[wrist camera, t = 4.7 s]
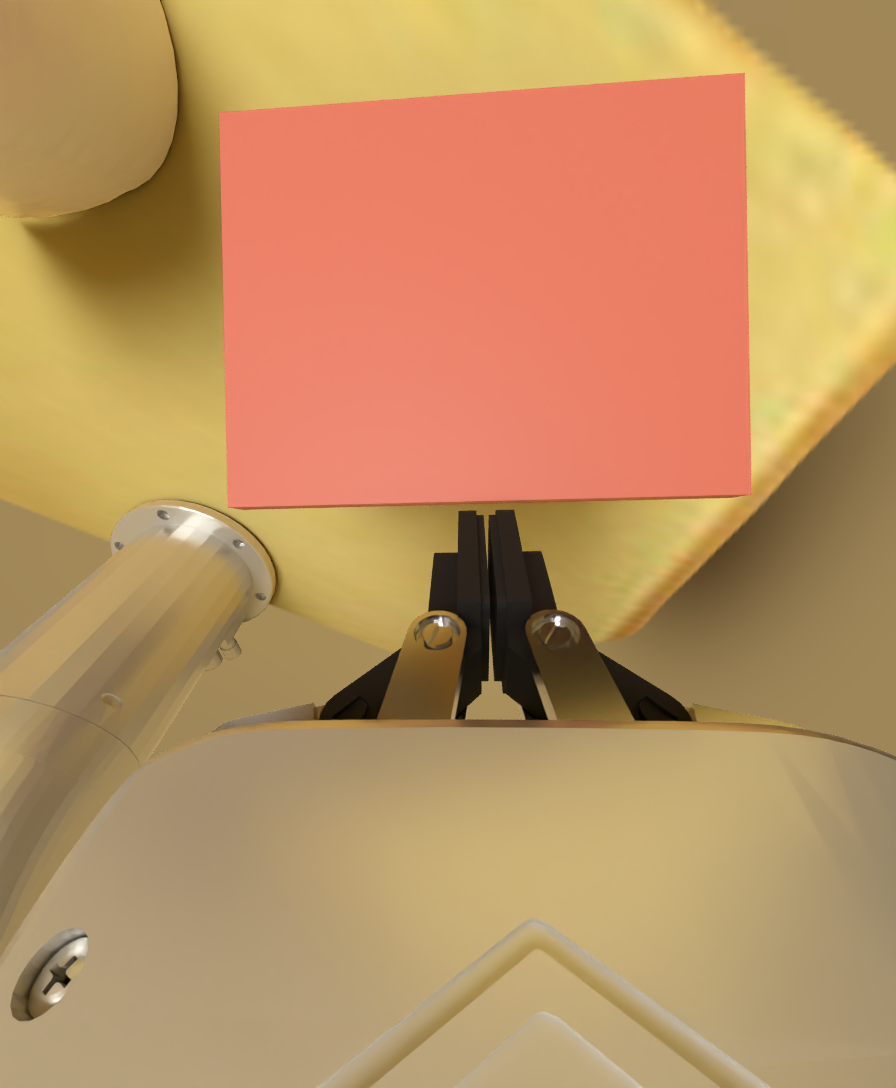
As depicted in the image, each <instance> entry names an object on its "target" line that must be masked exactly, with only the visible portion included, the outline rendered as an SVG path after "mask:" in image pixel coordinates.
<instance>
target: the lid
mask: <svg viewBox="0 0 896 1088" xmlns="http://www.w3.org/2000/svg"><path fill="white" fill-rule="evenodd" d="M219 128H220V173H221V218H222V263H223V308H224V353H225V397H226V442H227V487H228V507H229V508H236V509H243V510H249V509H289V508H330V507H371V506H412V505H453V504H494V503H535V502H576V501H617V500H658V499H699V498H733V497H739V496H745V495H751V437H750V375H749V314H748V252H747V190H746V129H745V73H738V74H724V75H711V76H698V77H685V78H671V79H658V80H645V81H632V82H618V83H605V84H592V85H579V86H565V87H552V88H539V89H526V90H512V91H499V92H486V93H473V94H459V95H446V96H433V97H420V98H406V99H393V100H380V101H366V102H353V103H340V104H327V105H313V106H300V107H287V108H274V109H260V110H247V111H234V112H221V113H219Z"/></svg>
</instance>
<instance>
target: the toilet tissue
mask: <svg viewBox="0 0 896 1088" xmlns="http://www.w3.org/2000/svg"><path fill="white" fill-rule="evenodd" d="M177 106H178V81H177V73H176V65H175V57H174V50H173V46H172V42H171V38H170V34H169V30H168V26H167V22H166V18H165V14H164V10H163V8H162V5H161V3H160V0H0V216H8V217H19V218H24V217H32V218H51V217H54V216H58V215H63V214H68V213H73V212H79V211H84V210H87V209H90V208H93V207H96V206H98V205H101V204H104V203H107V202H110V201H111V200H113V199H115V198H116V197H118V196H120V195H122V194H123V193H125V192H127V191H130V190H134V189H136V188H137V187H139V186H140V185H142V184H143V183H145V182H146V181H148V180H149V179H151V177H152V176H153V175H154V174H155V172H156V171H157V170H158V169H159V167H160V166H161V165H162V163H163V162H164V160H165V157H166V155H167V153H168V150H169V148H170V146H171V143H172V140H173V135H174V130H175V125H176V120H177Z"/></svg>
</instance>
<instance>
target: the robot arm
mask: <svg viewBox="0 0 896 1088" xmlns="http://www.w3.org/2000/svg"><path fill="white" fill-rule="evenodd" d="M110 545H111V550H112V557H111V558H110V559H109V560H108V561H107V562H106V563H104V564H103V565H102V566H101V567H99V568H98V569H97V570H96V571H95V572H94V573H92V574H91V575H90V576H89V577H88V578H86V579H85V580H84V581H83V582H82V583H81V584H80V585H78V586H77V587H76V588H75V589H74V590H72V591H71V592H70V593H69V594H68V595H66V596H65V597H64V598H63V599H62V600H61V601H59V602H58V603H57V604H56V605H55V606H53V607H52V608H51V609H50V610H49V611H48V612H46V613H45V614H44V615H43V616H42V617H41V618H39V619H38V620H37V621H36V622H35V623H33V624H32V625H31V626H30V627H29V628H28V629H26V630H25V631H24V632H23V633H22V634H20V635H19V636H18V637H17V638H16V639H15V640H13V641H12V642H11V643H10V644H9V645H8V646H6V647H5V648H4V649H3V650H2V651H0V1088H896V756H894V755H892V754H889V753H887V752H884V751H882V750H879V749H877V748H874V747H871V746H867V745H864V744H861V743H858V742H855V741H852V740H848V739H845V738H842V737H839V736H834V735H830V734H825V733H821V732H815V731H811V730H806V729H803V728H801V727H799V726H796V725H793V724H790V723H787V722H783V721H778V720H773V719H769V718H764V717H758V716H754V715H748V714H743V713H738V712H733V711H728V710H723V709H718V708H713V707H708V706H703V705H698V704H692V706H691V708H688V707H684V706H682V704H681V703H680V702H678V701H677V700H676V699H674V698H673V697H672V696H670V695H669V694H667V693H666V692H664V691H662V690H660V689H659V688H657V687H656V686H654V685H652V684H651V683H649V682H648V681H646V680H644V679H643V678H641V677H639V676H638V675H636V674H635V673H633V672H631V671H630V670H628V669H626V668H625V667H623V666H622V665H620V664H618V663H616V662H615V661H613V660H611V659H610V658H608V657H607V656H605V655H604V654H602V653H600V652H599V651H598V650H597V649H596V647H595V645H594V643H593V641H592V639H591V637H590V635H589V634H588V632H587V630H586V628H585V626H584V625H583V624H582V623H581V621H580V620H579V619H577V618H576V617H575V616H573V615H571V614H569V613H567V612H564V611H560V610H557V607H556V604H555V600H554V596H553V592H552V589H551V585H550V581H549V577H548V573H547V570H546V566H545V562H544V558H543V555H542V552H541V551H526V552H522V547H521V542H520V537H519V532H518V527H517V522H516V517H515V512H514V510H496V513H495V515H489V530H488V568H487V555H486V542H485V529H484V516H483V515H477V514H476V511H459V522H458V553H434V559H433V569H432V579H431V589H430V599H429V609H428V612H427V613H424V614H422V615H420V616H418V617H417V618H416V619H415V620H414V621H413V622H412V623H411V625H410V626H409V628H408V631H407V634H406V637H405V640H404V642H403V645H402V648H401V649H399V650H398V651H396V652H395V653H393V654H392V655H391V656H389V657H388V658H387V659H385V660H384V661H382V662H381V663H380V664H378V665H377V666H375V667H374V668H372V669H371V670H370V671H368V672H367V673H366V674H364V675H362V676H361V677H360V678H358V679H357V680H356V681H354V682H353V683H351V684H350V685H348V686H347V687H346V688H344V689H343V690H342V691H340V692H339V693H337V694H336V695H334V696H333V697H332V698H331V699H330V700H329V701H328V702H327V703H326V705H322V706H318V707H316V706H315V704H314V703H310V704H305V705H301V706H295V707H291V708H286V709H281V710H277V711H272V712H267V713H263V714H257V715H253V716H248V717H243V718H239V719H234V720H231V721H229V722H226V723H223V724H222V725H220V726H219V727H217V728H216V729H215V730H213V731H212V732H211V733H209V734H205V735H203V736H200V737H197V738H194V739H191V740H188V741H185V742H183V743H181V744H178V745H176V746H174V747H172V748H170V749H168V750H166V751H164V752H162V753H160V754H158V755H157V756H155V757H154V758H152V759H150V760H149V758H150V757H151V755H152V753H153V752H154V750H155V749H156V747H157V745H158V744H159V742H160V741H161V739H162V737H163V736H164V734H165V733H166V731H167V729H168V728H169V726H170V725H171V723H172V722H173V720H174V718H175V717H176V715H177V713H178V712H179V710H180V709H181V707H182V706H183V704H184V702H185V701H186V699H187V698H188V696H189V694H190V693H191V691H192V690H193V688H194V687H195V685H196V683H197V682H198V680H199V678H200V677H201V675H202V674H203V672H204V671H210V670H213V669H215V668H216V667H218V666H219V665H220V664H221V662H222V659H223V658H222V656H221V654H220V652H219V651H218V648H219V647H220V649H221V650H222V652H223V654H224V656H225V657H226V659H228V660H232V659H235V658H237V657H238V656H239V655H240V654H241V649H240V647H239V645H238V643H237V641H236V640H235V639H234V637H233V636H234V635H235V633H236V631H237V630H238V628H239V627H240V625H241V623H242V622H246V621H249V620H251V619H252V618H254V617H256V616H258V615H259V614H260V613H261V612H262V611H263V610H264V609H265V608H266V606H267V605H268V603H269V602H270V600H271V598H272V596H273V594H274V591H275V585H276V577H275V570H274V567H273V564H272V562H271V559H270V557H269V556H268V554H267V553H266V551H265V549H264V548H263V546H262V545H261V544H260V543H259V542H258V541H257V540H256V538H255V537H254V536H253V535H252V534H251V533H249V532H248V531H247V530H246V529H245V528H244V527H242V526H241V525H240V524H238V523H237V522H235V521H234V520H232V519H230V518H229V517H227V516H226V515H223V514H221V513H219V512H217V511H215V510H213V509H211V508H208V507H205V506H202V505H199V504H195V503H191V502H185V501H180V500H158V501H152V502H147V503H145V504H142V505H140V506H137V507H135V508H134V509H133V510H131V511H130V512H128V513H127V514H126V515H124V516H123V517H122V518H121V519H120V520H119V521H118V522H117V523H116V525H115V527H114V529H113V532H112V534H111V541H110ZM489 627H490V628H491V642H492V655H493V670H494V681H502V690H503V693H506V694H507V695H508V696H510V697H511V698H512V699H513V700H514V701H516V702H517V703H518V712H519V716H520V720H468V713H469V706H468V705H469V704H470V703H472V701H474V700H475V699H476V698H477V697H478V696H479V695H480V694H481V681H488V674H489V673H488V672H489ZM148 760H149V761H148Z"/></svg>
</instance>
